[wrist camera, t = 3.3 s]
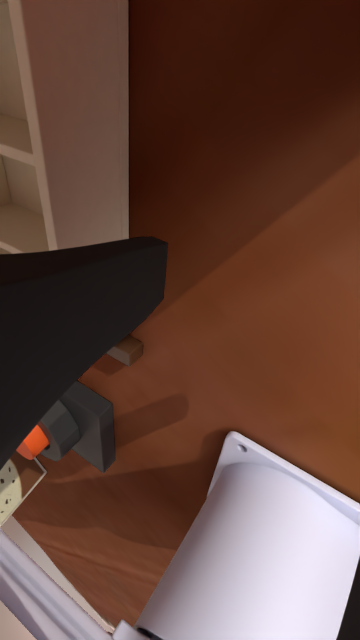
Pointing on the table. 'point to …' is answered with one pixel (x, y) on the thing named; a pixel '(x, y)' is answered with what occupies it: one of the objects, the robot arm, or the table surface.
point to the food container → (17, 483)
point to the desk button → (33, 443)
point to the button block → (80, 427)
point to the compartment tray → (63, 124)
